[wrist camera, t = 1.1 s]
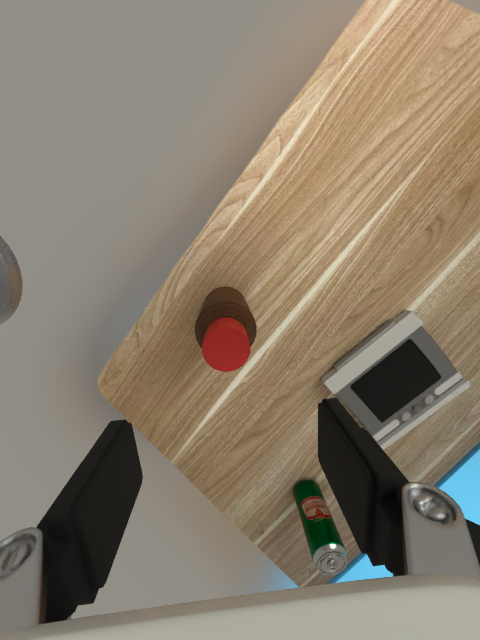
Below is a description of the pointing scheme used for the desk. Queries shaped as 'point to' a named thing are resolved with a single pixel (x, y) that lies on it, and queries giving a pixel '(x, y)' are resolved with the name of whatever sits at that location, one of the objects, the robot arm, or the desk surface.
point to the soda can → (319, 528)
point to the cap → (226, 344)
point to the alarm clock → (395, 379)
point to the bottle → (225, 312)
